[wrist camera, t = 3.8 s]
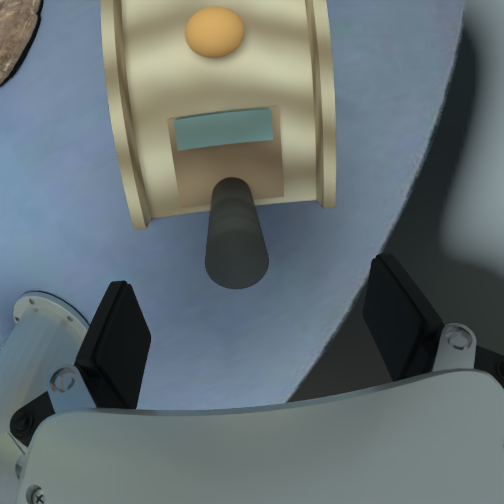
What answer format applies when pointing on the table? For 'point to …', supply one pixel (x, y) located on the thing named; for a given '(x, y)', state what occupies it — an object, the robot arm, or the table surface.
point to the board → (218, 92)
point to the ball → (214, 32)
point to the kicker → (230, 184)
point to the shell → (16, 33)
